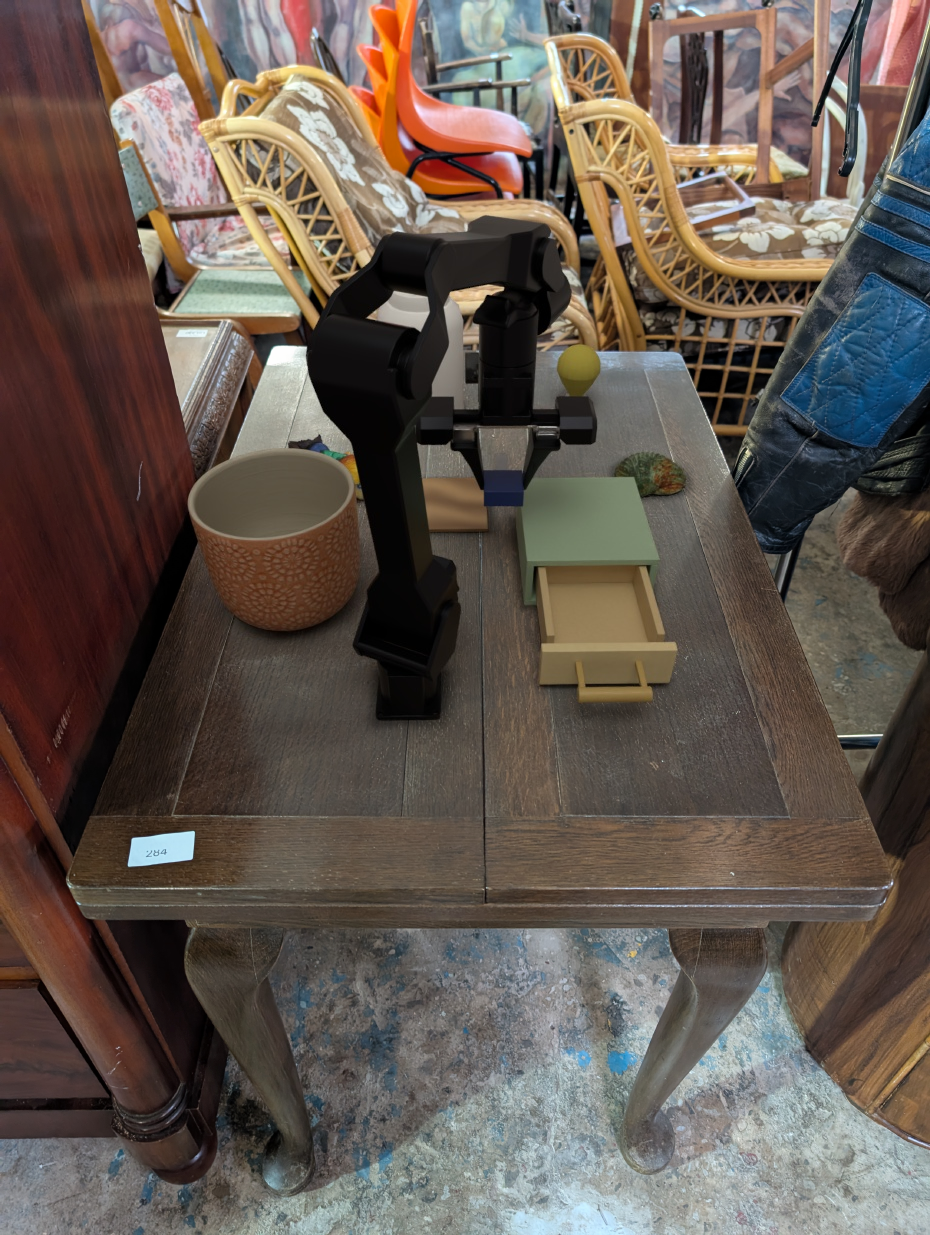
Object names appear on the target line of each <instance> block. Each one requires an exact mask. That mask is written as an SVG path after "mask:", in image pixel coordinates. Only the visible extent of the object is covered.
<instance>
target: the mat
mask: <svg viewBox="0 0 930 1235" xmlns="http://www.w3.org/2000/svg"><path fill="white" fill-rule="evenodd" d="M422 482H423V489H424V496H425V503H426V511H427V518H428V525H429V532H430V533H481V532H482V533H484V532H485V533H487V532H489V525H488V524H489V522H488V506H484V491H483V490H480V488H479V486H478V483H477V481H476V479H475V477H422Z"/></svg>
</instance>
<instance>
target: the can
mask: <svg viewBox="0 0 930 1235" xmlns="http://www.w3.org/2000/svg"><path fill="white" fill-rule="evenodd" d="M450 294H451V293H450ZM450 294H449V296H448V298H447V300H446V303H445V305H444V312H445V318H446V325H447V331H448V337H449V347H448V349H447V352H446V354H445V356H444V358H443V361H442V363H441V365H440V367H439V369H438V372H437V374H436V376H435V378H434V381H433V383H432V397H454V409H465V407H464V405H465V404H464V402H465V401H464V398H465V396H464V394H465V393H464V392H465V391H464V319H463V314H462V311H461V307H460V305H459V303H457V301H455V299H453V298H452V297H451V295H450ZM377 310H378V311H377V315H376V320H378V321H383V322H388V323H393V324H399V325H404V326H409V327H414V328H416V329H417V330H419V331H420V332H421V330H422V328H423V326H424V323H425V321H426V319H427V317H428V315H429V312H430V309H429V303H428V297H425V296H419V295H414V294H408V293H403V292H397V291H394V292H393V294H392V296H391V297H390V299H389V300H388V301H387V302H386V303H384V304H383V305H382V306H381V307H379V308H378V309H377ZM415 431H416V425H415Z"/></svg>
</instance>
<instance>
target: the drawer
mask: <svg viewBox="0 0 930 1235" xmlns="http://www.w3.org/2000/svg"><path fill="white" fill-rule="evenodd" d="M535 593H536V601H537V605H536V607H537V615H538V616H537V617H538V624H539V625H538V626H539V634H540V639H541V640H540V641H541V643H540V654H539V663H538V664H539V665H538V675H537V677H538V684H539V685H577V689H576V699H577V703H578V704H600V703H601V704H612V703H614V704H615V703H617V704H619V703H621V704H622V703H652V702H653V699H654V698H653V696H654V694H653V693H654V692H653V688H652V687H651V686H648V684H669V683H670V682H671V679H672V675H673V670H674V668H675V667H674V666H675V663H676V660H677V659H676V658H677V656H678V652H679V651H678V646H677V643H676V641H665V638H666V632H665V629H664V628H665V627H664V624H663V620H662V618H661V613H660V610H659V607H658V603H657V600H656V596H655V593H654V588H653V589H652V586H651V582H650V579H649V575H648V572H647V568H646V565H593V566H536V571H535ZM598 684H599V685H600V684H601V685H602V684H603V685H605V684H606V685H609V684H611V685H612V684H614V685H615V684H616V685H617V684H638V685H639V686H586V685H598Z"/></svg>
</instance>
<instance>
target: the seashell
mask: <svg viewBox="0 0 930 1235" xmlns="http://www.w3.org/2000/svg"><path fill="white" fill-rule="evenodd" d="M614 477H634V479H635V482H636V485H637V488H638V492H639V495H640V498H645V496H649V495H662V496H665V495H666V496H667V495H672V494H676V493H678V492H680V491H682V490H683V488H684V487H686V479H687V476H686V475H685V474H684V470H683V468H681V467H680V466H679V465H678V464H677V463H676V462H675V461H673V460H672V459H671V458H669V457H667V456H665V455H663V454H660V453H655V452H654V451H653V452H649V451H646V452H645V451H641V452H635V453H634V454H630V455H629V456H628V457H625V458H624V459H623V461H622V460H621V462H620V463H619V464H617V466H616V469H615V470H614Z"/></svg>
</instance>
